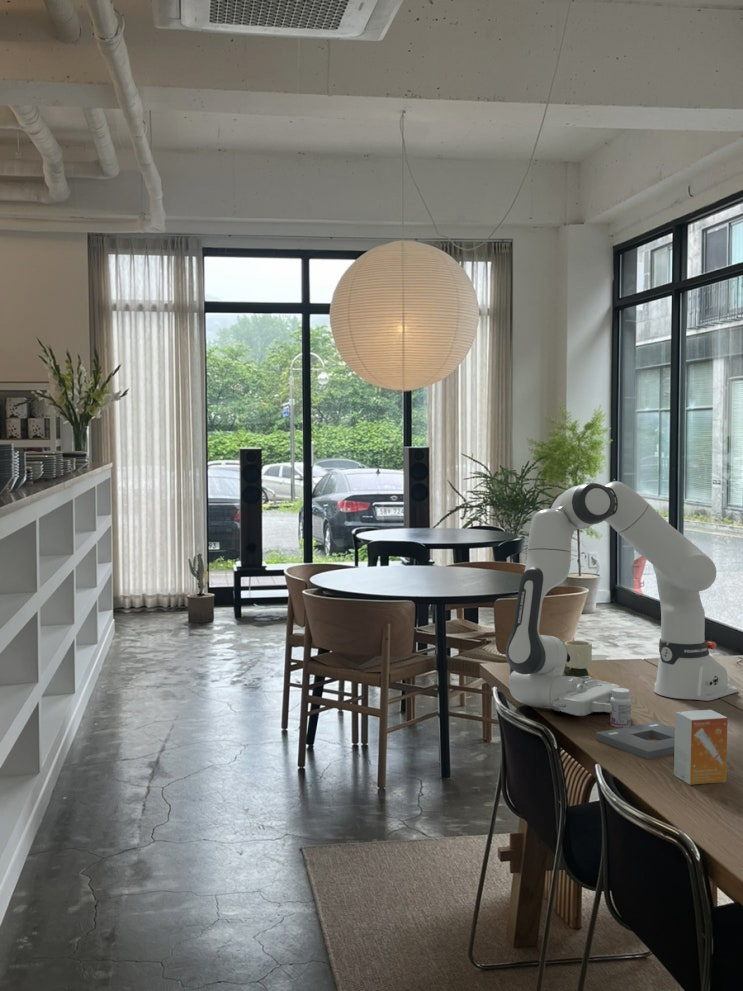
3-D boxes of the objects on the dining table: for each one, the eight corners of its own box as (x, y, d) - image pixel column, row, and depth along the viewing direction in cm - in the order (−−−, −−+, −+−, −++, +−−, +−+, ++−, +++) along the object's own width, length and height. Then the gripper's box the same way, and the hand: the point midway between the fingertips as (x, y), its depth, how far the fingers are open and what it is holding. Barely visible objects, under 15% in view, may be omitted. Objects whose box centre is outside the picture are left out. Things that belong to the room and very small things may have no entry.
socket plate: (654, 728, 231) (654, 721, 231) (708, 746, 217) (708, 738, 217) (596, 739, 222) (596, 732, 222) (648, 759, 208) (648, 751, 208)
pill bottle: (607, 722, 236) (607, 687, 235) (627, 722, 236) (627, 687, 236) (614, 728, 231) (614, 692, 231) (633, 727, 231) (634, 692, 231)
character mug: (563, 685, 272) (564, 638, 271) (590, 686, 271) (590, 639, 270) (565, 695, 261) (565, 646, 261) (592, 696, 260) (593, 647, 259)
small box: (690, 786, 192) (691, 719, 191) (673, 775, 198) (674, 711, 197) (727, 782, 194) (728, 717, 193) (709, 772, 200) (710, 708, 199)
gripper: (547, 690, 234) (600, 699, 225) (589, 674, 250) (640, 683, 241) (547, 716, 235) (600, 727, 226) (589, 699, 250) (640, 708, 241)
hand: (621, 704), depth 233 cm, fingers open, 8 cm apart
